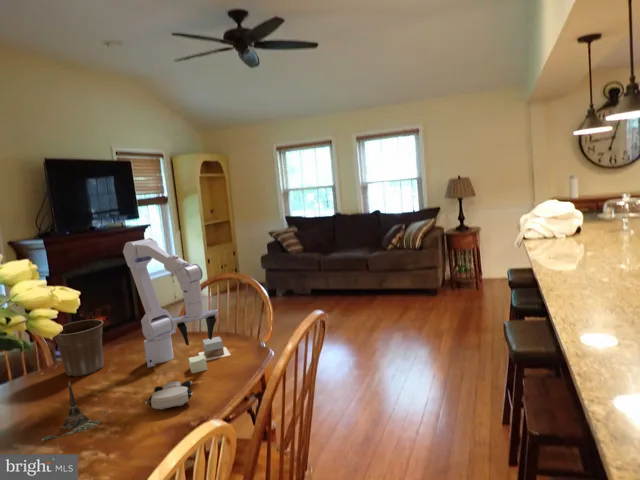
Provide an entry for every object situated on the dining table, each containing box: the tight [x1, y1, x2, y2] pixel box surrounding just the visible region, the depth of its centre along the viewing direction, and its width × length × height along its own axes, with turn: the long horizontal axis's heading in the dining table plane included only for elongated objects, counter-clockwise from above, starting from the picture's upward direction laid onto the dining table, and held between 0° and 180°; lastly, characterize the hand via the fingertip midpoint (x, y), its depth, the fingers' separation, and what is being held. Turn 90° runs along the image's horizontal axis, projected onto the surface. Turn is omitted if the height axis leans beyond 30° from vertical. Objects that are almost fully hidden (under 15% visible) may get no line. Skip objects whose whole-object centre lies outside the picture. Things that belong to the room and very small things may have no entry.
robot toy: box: [144, 380, 194, 411], centre depth 133 cm, size 12×4×15 cm
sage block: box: [188, 355, 208, 374], centre depth 153 cm, size 5×5×4 cm
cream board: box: [198, 346, 232, 362], centre depth 166 cm, size 10×10×1 cm
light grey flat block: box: [202, 336, 224, 352], centre depth 166 cm, size 6×6×2 cm
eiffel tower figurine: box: [41, 381, 107, 442], centre depth 124 cm, size 15×10×13 cm
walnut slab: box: [203, 347, 224, 358], centre depth 166 cm, size 6×6×2 cm
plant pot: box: [54, 319, 105, 377], centre depth 164 cm, size 16×16×16 cm
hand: (198, 341), depth 154 cm, fingers open, 7 cm apart
